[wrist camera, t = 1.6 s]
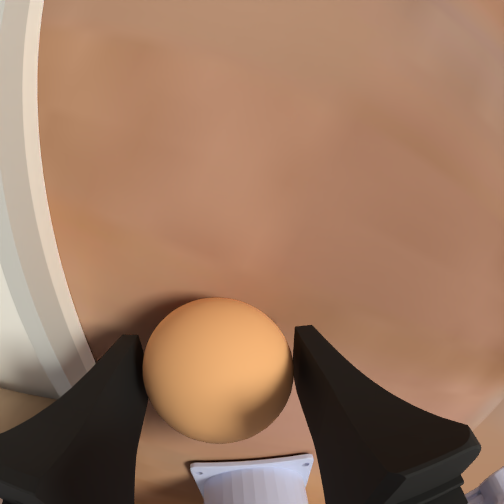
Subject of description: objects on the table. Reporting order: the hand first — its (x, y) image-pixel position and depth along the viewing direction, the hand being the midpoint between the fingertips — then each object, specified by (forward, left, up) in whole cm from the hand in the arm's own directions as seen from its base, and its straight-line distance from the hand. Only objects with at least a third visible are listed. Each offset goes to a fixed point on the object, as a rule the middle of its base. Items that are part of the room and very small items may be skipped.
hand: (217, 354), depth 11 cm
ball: (0, 0, +1) cm, 1 cm away
